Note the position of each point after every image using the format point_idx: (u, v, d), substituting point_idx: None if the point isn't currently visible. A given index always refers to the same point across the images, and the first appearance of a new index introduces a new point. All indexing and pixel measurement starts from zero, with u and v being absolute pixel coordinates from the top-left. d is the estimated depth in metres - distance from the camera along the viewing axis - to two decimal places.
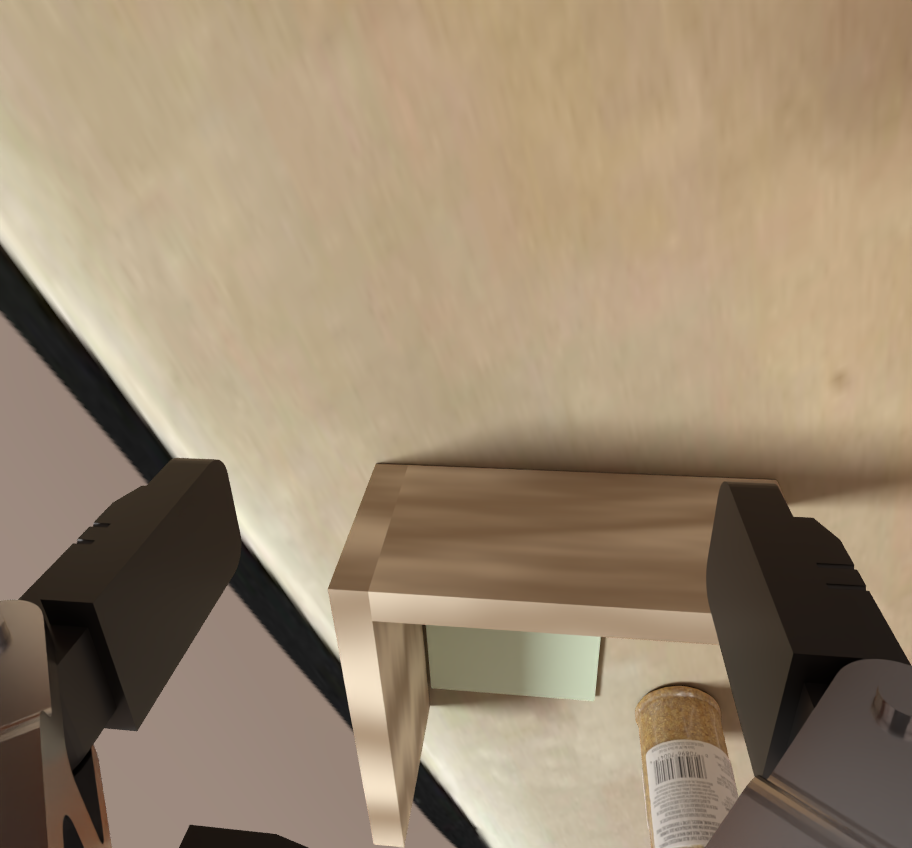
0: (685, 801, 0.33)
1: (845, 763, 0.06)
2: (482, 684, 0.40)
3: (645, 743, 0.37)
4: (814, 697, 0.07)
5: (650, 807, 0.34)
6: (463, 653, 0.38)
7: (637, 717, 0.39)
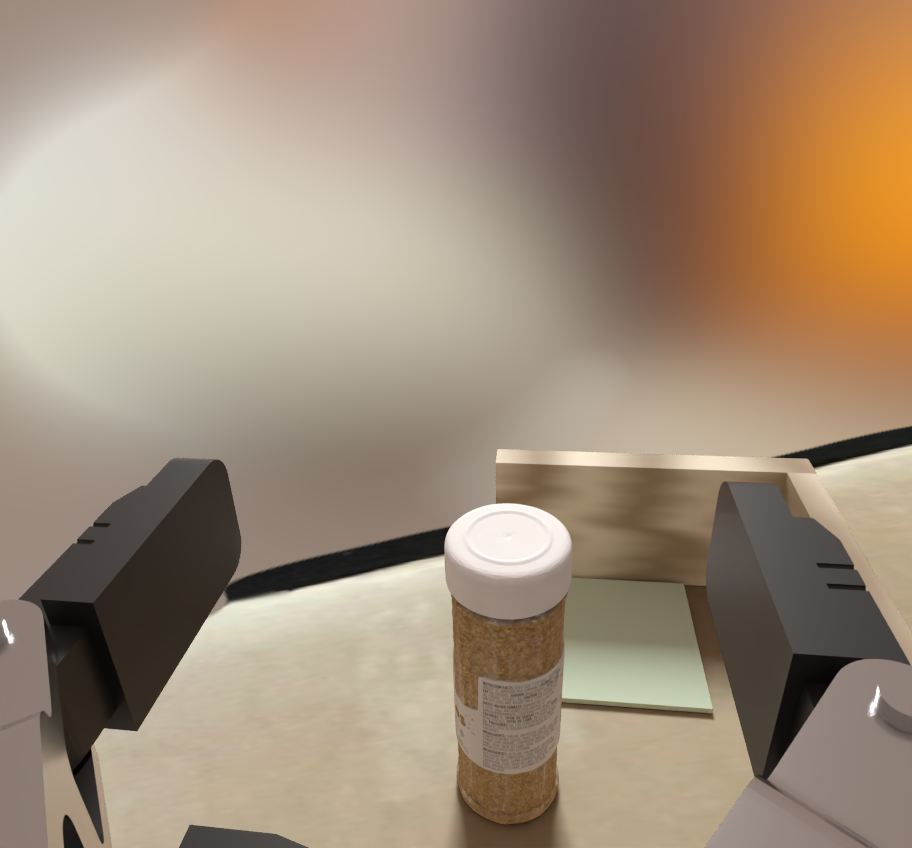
0: None
1: (845, 763, 0.06)
2: None
3: None
4: (814, 697, 0.07)
5: None
6: (582, 600, 0.41)
7: None
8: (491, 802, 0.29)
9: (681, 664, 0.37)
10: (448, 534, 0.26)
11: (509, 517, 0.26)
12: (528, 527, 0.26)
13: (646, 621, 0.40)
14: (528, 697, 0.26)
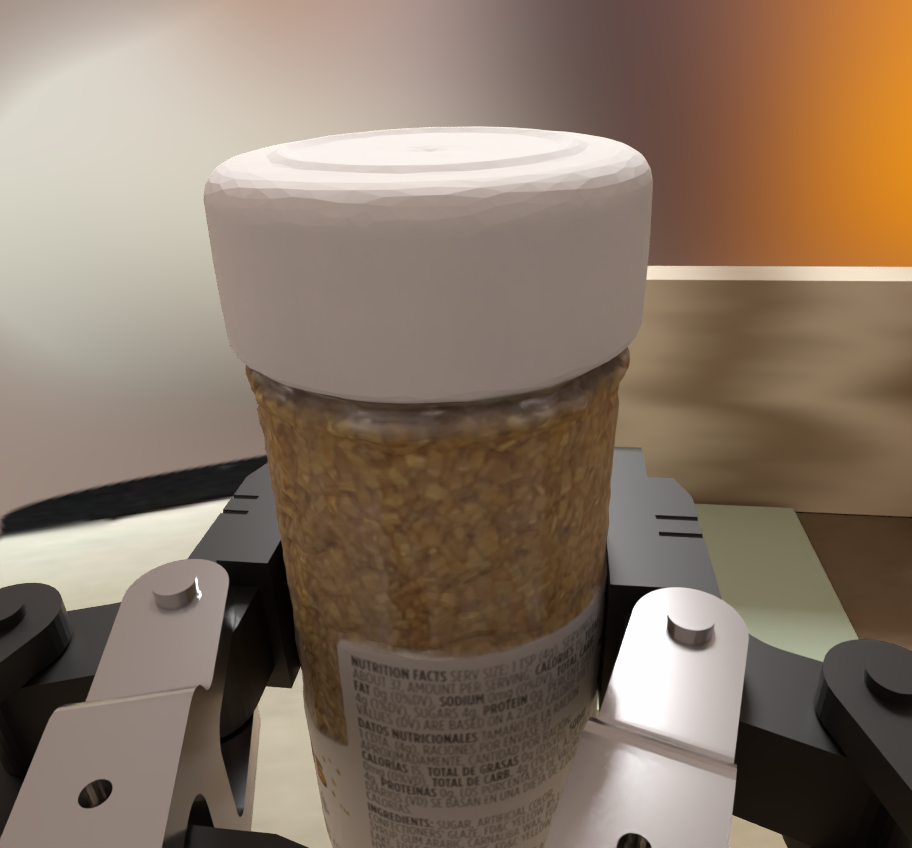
0: None
1: (623, 666, 0.07)
2: None
3: None
4: (628, 622, 0.08)
5: None
6: None
7: None
8: None
9: (819, 643, 0.19)
10: None
11: (442, 134, 0.08)
12: (500, 140, 0.08)
13: (736, 566, 0.21)
14: (498, 709, 0.08)
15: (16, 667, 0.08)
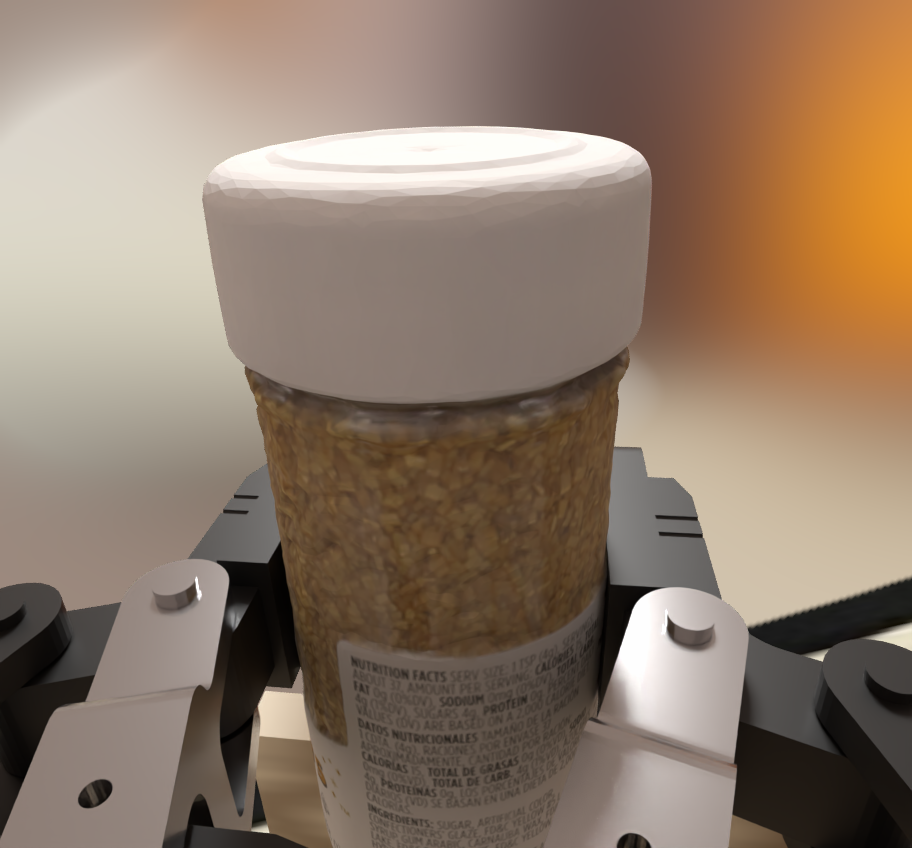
0: None
1: (624, 667, 0.07)
2: None
3: None
4: (628, 622, 0.08)
5: None
6: None
7: None
8: None
9: None
10: None
11: (441, 134, 0.08)
12: (499, 140, 0.08)
13: None
14: (498, 710, 0.08)
15: (16, 667, 0.08)
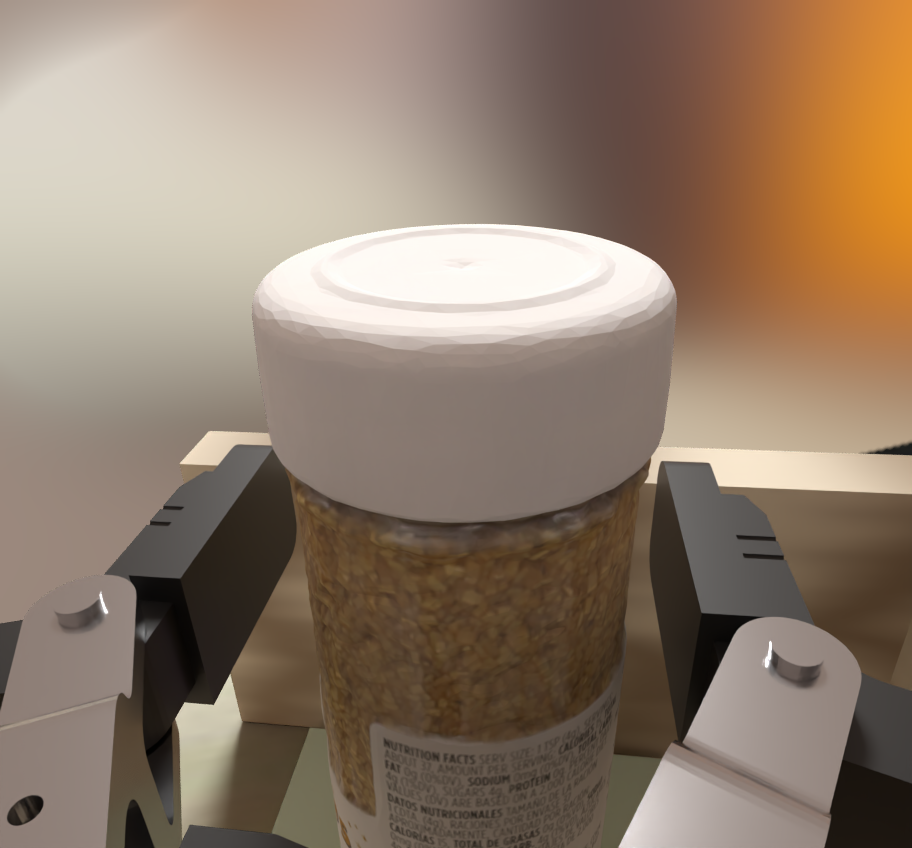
0: None
1: (732, 706, 0.07)
2: (298, 837, 0.16)
3: None
4: (720, 653, 0.08)
5: None
6: None
7: None
8: None
9: None
10: None
11: (472, 238, 0.09)
12: (529, 251, 0.08)
13: None
14: (523, 788, 0.09)
15: None
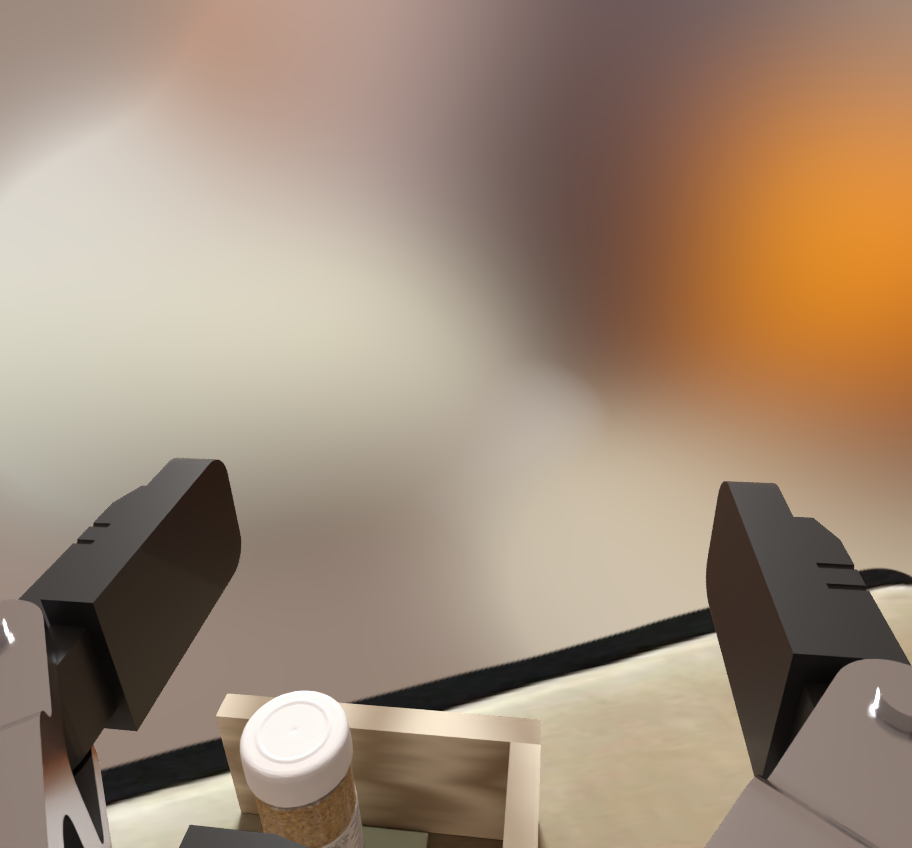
0: (360, 820, 0.34)
1: (846, 763, 0.06)
2: None
3: None
4: (815, 697, 0.07)
5: None
6: None
7: None
8: None
9: None
10: (246, 726, 0.30)
11: (301, 708, 0.31)
12: (314, 720, 0.30)
13: None
14: None
15: None
